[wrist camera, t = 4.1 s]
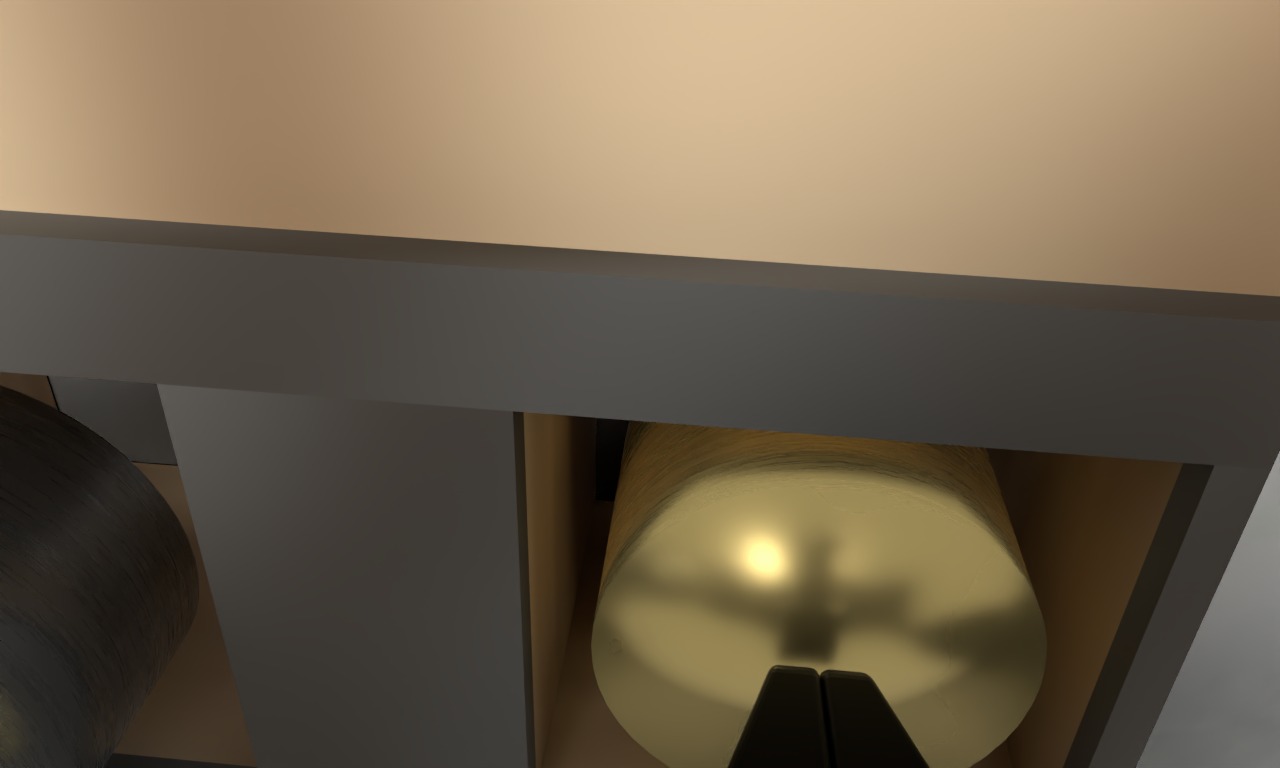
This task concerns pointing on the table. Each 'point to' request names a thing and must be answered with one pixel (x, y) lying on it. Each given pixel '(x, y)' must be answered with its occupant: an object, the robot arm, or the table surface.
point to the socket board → (637, 320)
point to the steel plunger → (81, 589)
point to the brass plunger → (811, 587)
